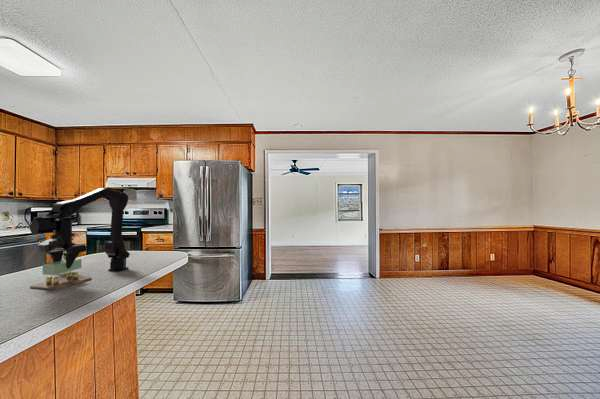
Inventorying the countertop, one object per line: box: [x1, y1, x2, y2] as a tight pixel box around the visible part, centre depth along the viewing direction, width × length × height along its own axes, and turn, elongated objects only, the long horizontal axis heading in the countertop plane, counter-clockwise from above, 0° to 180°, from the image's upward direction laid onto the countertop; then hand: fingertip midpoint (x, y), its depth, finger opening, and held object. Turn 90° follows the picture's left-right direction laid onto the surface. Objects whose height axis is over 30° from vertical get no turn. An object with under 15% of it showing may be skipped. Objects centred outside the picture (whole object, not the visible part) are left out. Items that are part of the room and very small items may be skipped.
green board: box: [42, 258, 82, 276], centre depth 119 cm, size 12×6×4 cm, turn 173°
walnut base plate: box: [29, 271, 93, 292], centre depth 119 cm, size 16×12×4 cm
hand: (63, 268), depth 119 cm, fingers closed on green board, 6 cm apart
